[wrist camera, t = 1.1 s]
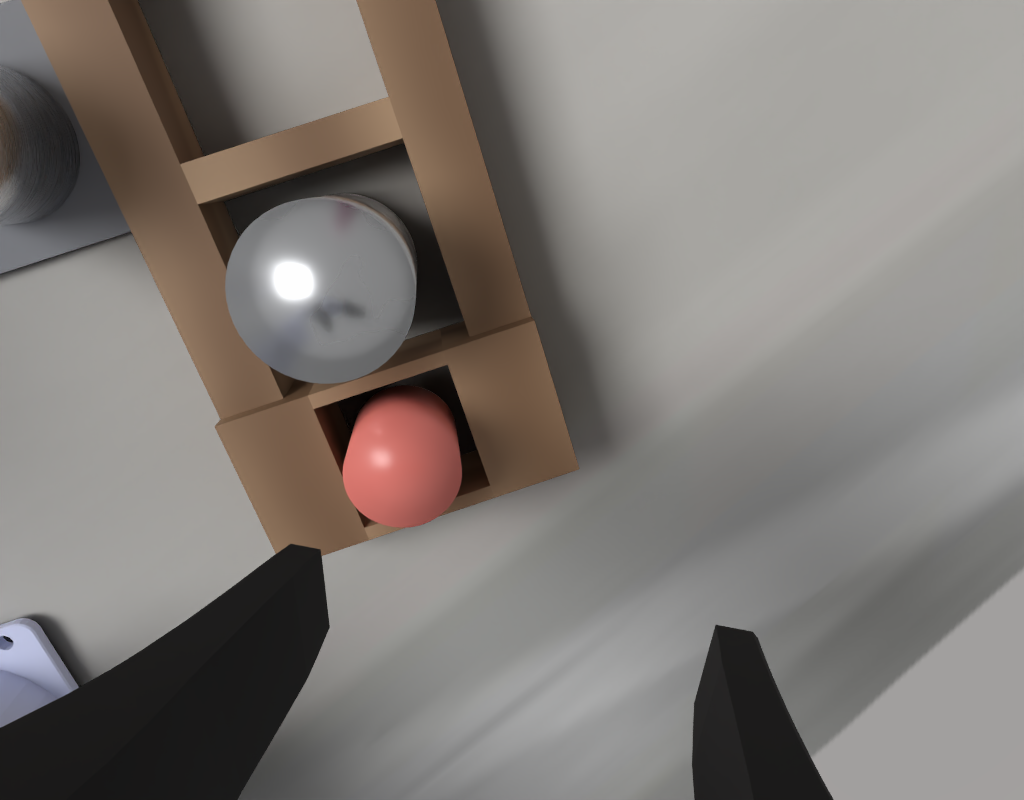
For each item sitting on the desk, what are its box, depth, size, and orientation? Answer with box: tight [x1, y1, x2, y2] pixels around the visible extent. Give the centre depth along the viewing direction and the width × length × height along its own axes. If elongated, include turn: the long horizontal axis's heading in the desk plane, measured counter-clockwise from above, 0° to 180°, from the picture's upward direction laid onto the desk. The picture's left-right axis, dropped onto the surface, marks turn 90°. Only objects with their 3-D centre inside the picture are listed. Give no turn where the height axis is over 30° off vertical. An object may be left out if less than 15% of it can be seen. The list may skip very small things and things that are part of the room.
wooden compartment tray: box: [21, 0, 579, 556], centre depth 19 cm, size 9×17×3 cm, turn 17°
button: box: [343, 385, 462, 528], centre depth 19 cm, size 3×3×3 cm
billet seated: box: [225, 193, 418, 384], centre depth 18 cm, size 4×4×6 cm
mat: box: [0, 0, 131, 274], centre depth 19 cm, size 6×6×1 cm
